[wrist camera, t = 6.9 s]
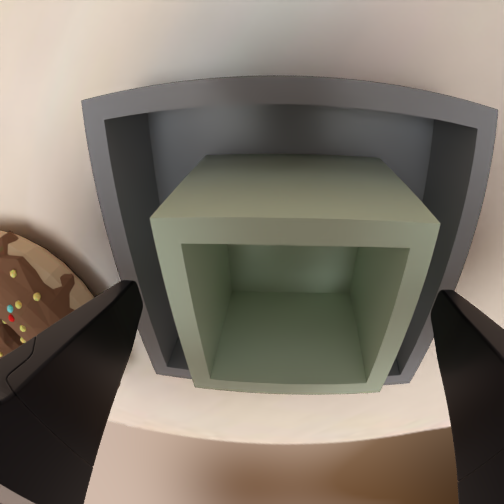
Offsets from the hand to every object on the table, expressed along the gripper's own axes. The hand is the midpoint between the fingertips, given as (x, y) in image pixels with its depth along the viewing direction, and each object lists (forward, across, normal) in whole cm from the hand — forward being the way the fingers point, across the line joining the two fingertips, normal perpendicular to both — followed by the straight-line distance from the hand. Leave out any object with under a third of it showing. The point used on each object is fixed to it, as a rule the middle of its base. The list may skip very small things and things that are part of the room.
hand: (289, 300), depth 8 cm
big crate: (+4, 0, 0) cm, 4 cm away
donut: (+5, +16, +6) cm, 18 cm away
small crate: (+4, 0, 0) cm, 4 cm away
